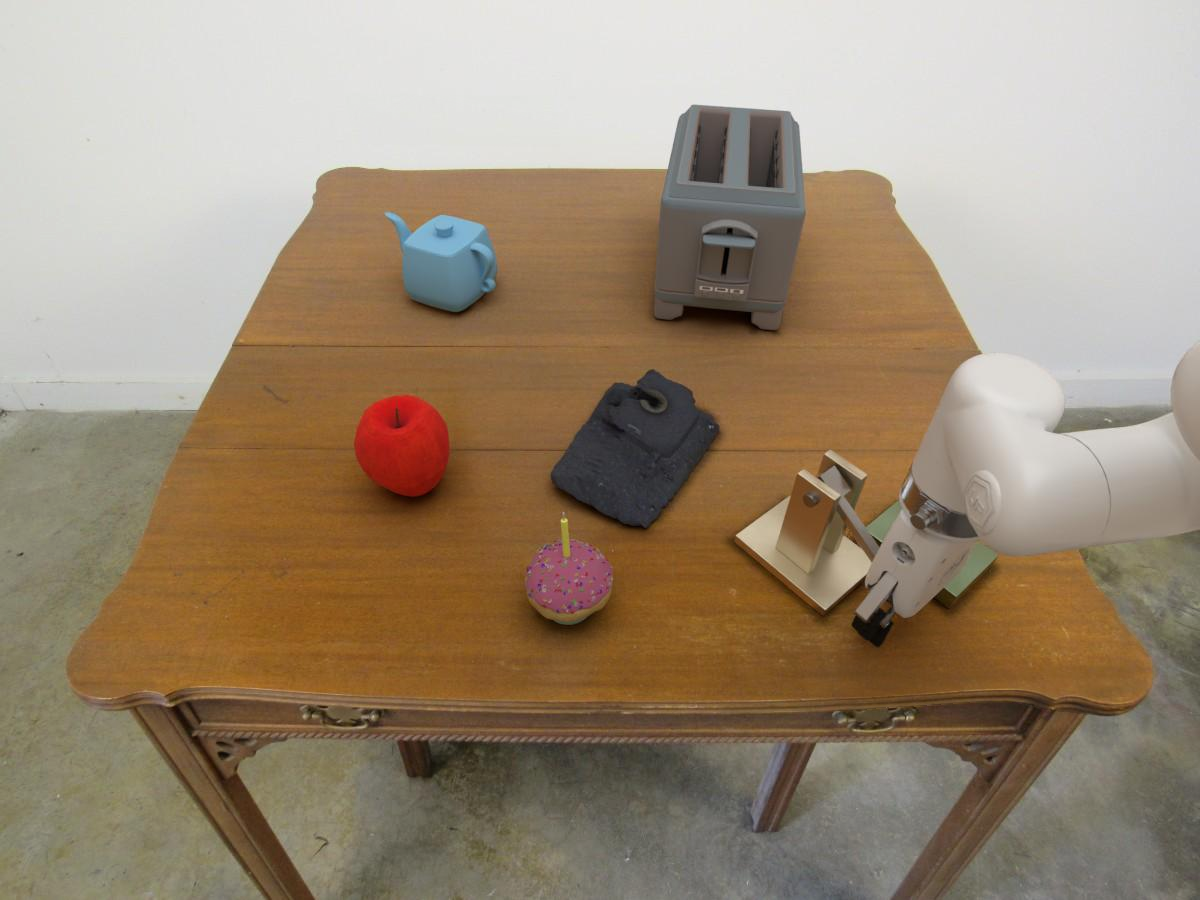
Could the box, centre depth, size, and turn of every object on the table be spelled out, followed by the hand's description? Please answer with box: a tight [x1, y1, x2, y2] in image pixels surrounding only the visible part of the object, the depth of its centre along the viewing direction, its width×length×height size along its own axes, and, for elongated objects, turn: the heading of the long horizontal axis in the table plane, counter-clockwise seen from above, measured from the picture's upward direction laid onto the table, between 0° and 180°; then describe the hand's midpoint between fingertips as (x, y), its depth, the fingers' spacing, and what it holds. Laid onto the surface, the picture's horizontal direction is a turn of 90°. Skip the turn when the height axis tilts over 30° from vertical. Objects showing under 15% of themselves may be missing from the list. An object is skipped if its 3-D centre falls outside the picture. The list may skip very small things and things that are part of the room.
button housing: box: [865, 499, 1000, 609], centre depth 77 cm, size 11×8×4 cm
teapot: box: [384, 211, 498, 313], centre depth 109 cm, size 12×18×12 cm
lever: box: [814, 466, 894, 592], centre depth 70 cm, size 14×3×3 cm, turn 39°
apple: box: [353, 394, 451, 498], centre depth 80 cm, size 10×10×12 cm
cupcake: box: [524, 511, 614, 626], centre depth 70 cm, size 9×8×12 cm
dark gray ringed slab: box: [550, 368, 720, 529], centre depth 87 cm, size 15×22×5 cm
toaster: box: [653, 104, 807, 331], centre depth 109 cm, size 19×33×20 cm, turn 171°
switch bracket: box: [733, 448, 872, 617], centre depth 74 cm, size 12×9×13 cm
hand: (888, 613), depth 72 cm, fingers open, 6 cm apart
